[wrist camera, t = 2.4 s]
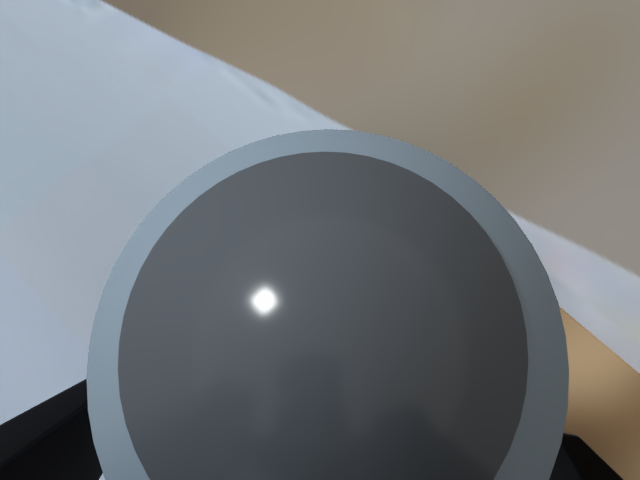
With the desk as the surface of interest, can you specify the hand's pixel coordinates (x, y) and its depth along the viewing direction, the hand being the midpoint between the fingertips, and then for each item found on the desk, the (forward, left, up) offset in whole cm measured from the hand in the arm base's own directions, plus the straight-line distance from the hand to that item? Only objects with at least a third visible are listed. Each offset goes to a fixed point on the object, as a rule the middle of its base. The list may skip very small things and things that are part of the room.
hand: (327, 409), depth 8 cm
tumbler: (+1, -1, -9) cm, 9 cm away
